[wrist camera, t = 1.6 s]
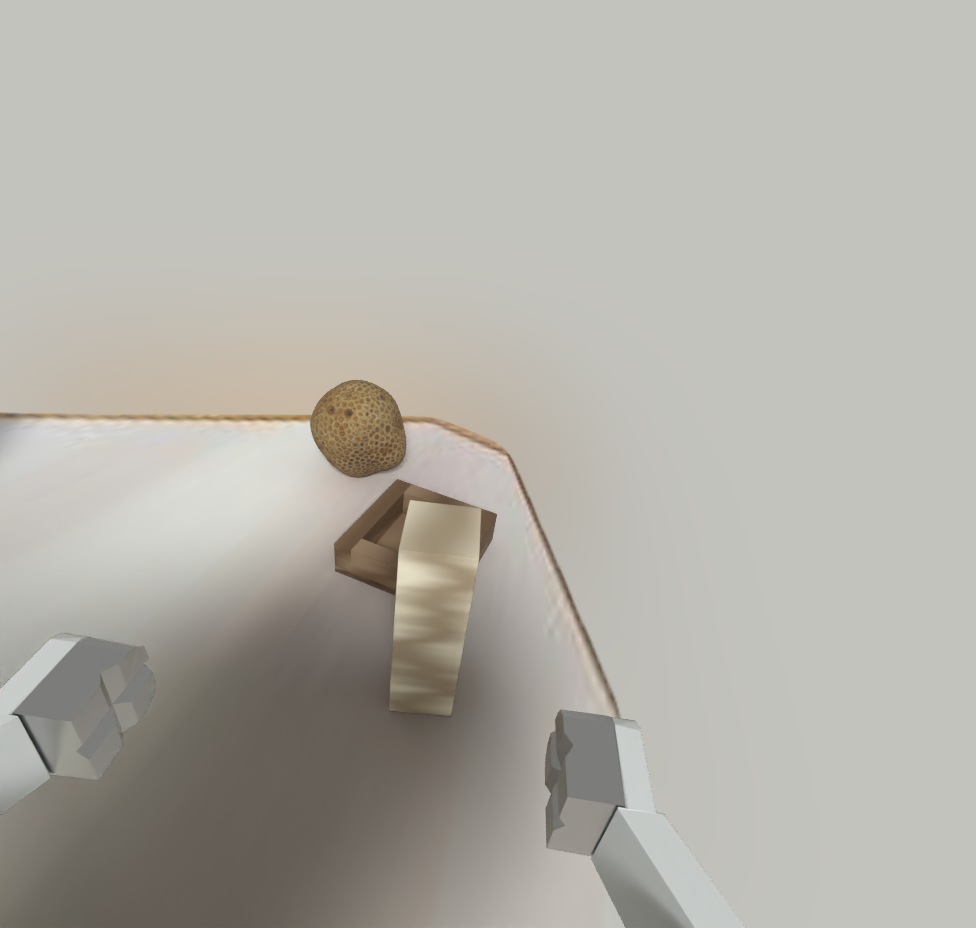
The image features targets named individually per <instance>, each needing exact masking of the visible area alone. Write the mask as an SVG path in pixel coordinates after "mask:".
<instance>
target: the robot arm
mask: <svg viewBox="0 0 976 928" xmlns="http://www.w3.org/2000/svg"><path fill="white" fill-rule="evenodd" d="M147 659H148V655H147V653H146V650H145V647H144V646H139V645H133V644H127V643H120V642H114V641H108V640H102V639H96V638H91V637H86V636H79V635H72V634H66V633H60V634H58V635H56V636H55V637H53V638H51V639H49V640H48V641H47V642H46V643H45V644H44V645H43V646H42V647H41V648H40V649H39V650H38V651H37V652H36V653H35V654H34V655H33V656H32V657H31V658H30V659H29V660H28V661H27V662H26V663H25V664H24V666H23V667H22V668H21V669H20V670H19V671H18V672H17V673H16V674H15V675H14V676H13V677H12V678H11V679H10V680H9V681H8V682H7V683H6V684H5V685H4V686H3V687H2V688H1V689H0V815H1V814H2V813H4V812H5V811H7V810H8V809H9V808H11V807H12V806H13V805H15V804H16V803H17V802H19V801H20V800H22V799H23V798H24V797H26V796H27V795H28V794H30V793H31V792H32V791H34V790H35V789H37V788H38V787H39V786H41V785H42V784H43V783H45V782H46V781H47V780H49V779H50V778H51V775H58V776H67V777H75V778H83V779H91V780H99V779H100V778H101V776H102V775H103V773H104V772H105V770H106V769H107V767H108V766H109V765H110V763H111V762H112V760H113V759H114V757H115V756H116V754H117V753H118V752H119V750H120V749H121V747H122V746H123V732H124V731H126V730H127V729H129V728H130V727H132V726H134V725H135V724H137V723H138V722H139V721H140V720H141V718H142V716H143V715H144V713H145V712H146V710H147V709H148V707H149V705H150V702H151V699H152V697H153V694H154V691H155V678H154V675H153V672H152V671H151V670H149V669H148V668H147V667H146V666H145V665H144V663H145V661H146V660H147ZM555 727H556V731H554V732H552V733H551V734H550V737H549V741H548V744H547V751H546V758H545V785H546V786H547V788H548V790H549V791H550V793H551V795H550V798H549V801H548V804H547V806H546V847H547V848H548V849H554V850H559V851H565V852H570V853H576V854H581V855H587V856H592V858H591V860H592V862H593V864H594V866H595V868H596V870H597V872H598V874H599V876H600V878H601V880H602V882H603V884H604V886H605V888H606V890H607V892H608V894H609V896H610V898H611V900H612V902H613V904H614V906H615V908H616V910H617V912H618V914H619V916H620V918H621V920H622V922H623V924H624V926H625V927H626V928H746V927H745V926H744V924H743V923H742V922H741V920H740V919H739V918H738V916H737V915H736V913H735V912H734V910H733V909H732V908H731V906H730V905H729V903H728V902H727V901H726V899H725V898H724V897H723V895H722V894H721V892H720V891H719V890H718V888H717V887H716V885H715V884H714V883H713V881H712V880H711V879H710V877H709V876H708V874H707V873H706V871H705V870H704V869H703V867H702V866H701V864H700V863H699V862H698V860H697V859H696V858H695V856H694V855H693V853H692V852H691V850H690V849H689V848H688V847H687V845H686V843H685V842H684V841H683V839H682V838H681V837H680V835H679V834H678V832H677V831H676V830H675V828H674V827H673V825H672V824H671V823H670V821H669V820H668V818H667V817H666V816H665V814H662V813H657V812H656V807H655V802H654V797H653V792H652V786H651V781H650V776H649V770H648V765H647V760H646V755H645V750H644V744H643V739H642V734H641V728H640V726H639V724H638V723H637V722H636V721H634V720H628V719H621V718H613V717H609V716H605V715H597V714H590V713H582V712H575V711H568V710H560V711H559V712H558V714H557V716H556V719H555Z"/></svg>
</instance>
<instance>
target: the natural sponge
mask: <svg viewBox="0 0 976 928" xmlns="http://www.w3.org/2000/svg"><path fill="white" fill-rule="evenodd" d="M310 426H311V432H312V435H313V438H314V441H315V443H316V445H317V446H318V448H319V449H320V451H321V452H322V453H323V454H324V456H325V457H326V458H327V460H328V461H329V462H330V463H331V464H332V465H333V466H334V467H335V468H337V469H338V470H340V471H341V472H343V473H344V474H346V475H349V476H352V477H364V476H369V475H371V474H373V473H375V472H378V471H383V470H387V469H391V468H393V467H396V466H397V465H398V464H400V462H401V461H402V460H403V458H404V455H405V451H406V436H405V431H404V426H403V421H402V418H401V414H400V411H399V409H398V406H397V404H396V402H395V400H394V399H393V398H392V396H391V395H390V394H389V393H388V392H386V391H385V390H384V389H382V388H380V387H379V386H377V385H375V384H373V383H370V382H367V381H363V380H351V381H347V382H344V383H341V384H340V385H338V386H337V387H335V388H333V389H331V390H330V391H329V392H327V393H326V394H325V395H324V396H323V397H322V398H321V399H320V400H319V402H318V403H317V405H316V407H315V409H314V411H313V414H312V417H311V420H310Z"/></svg>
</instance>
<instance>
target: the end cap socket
mask: <svg viewBox="0 0 976 928" xmlns="http://www.w3.org/2000/svg"><path fill="white" fill-rule="evenodd" d="M410 500H413V501H422V502H430V503H439V504H447V505H455V506H464V507H472V508H478V507H475V506H472V505H469V504H467V503H464V502H461V501H458V500H455V499H452V498H449V497H447V496H444V495H441V494H438V493H435V492H432V491H429V490H427V489H424V488H421V487H418V486H415V485H412V484H410V483H407V482H404V481H401V480H398V479H397V480H396V481H395V482H394V483H393V484H392V485H391V486H390V487H389V488H388V489H387V490H386V491H385V492H384V493H383V494H382V495H381V496H380V497H379V498H378V499H377V500H376V501H375V502H374V504H373V505H372V506H371V507H370V508H369V509H368V510H367V511H366V512H365V513H364V514H363V515H362V516H361V517H360V518H359V519H358V520H357V521H356V522H355V523H354V524H353V525H352V526H351V527H350V528H349V529H348V530H347V531H346V532H345V533H344V534H343V535H342V536H341V537H340V538H339V539H338V540H337V541H336V542H335V543H334V547H335V571H337V572H339V573H342V574H344V575H347V576H349V577H352V578H354V579H357V580H359V581H361V582H364V583H366V584H369V585H371V586H374V587H376V588H379V589H381V590H384V591H386V592H389V593H391V594H393V595H396V586H397V570H398V554H399V546H400V542H401V537H402V533H403V529H404V524H405V520H406V515H407V511H408V506H409V502H410ZM480 509H481V508H480ZM496 516H497V514H495V513H492V512H489V511H487V510H484V509H481V525H480V549H479V561H480V559H481V558H482V556H483V554H484V552H485V551H486V549H487V547H488V546H489V544H490V542H491V540H492V538H493V532H494V527H495V522H496ZM478 563H479V562H478Z"/></svg>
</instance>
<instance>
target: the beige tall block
mask: <svg viewBox="0 0 976 928" xmlns="http://www.w3.org/2000/svg"><path fill="white" fill-rule="evenodd" d="M480 525H481V509H480V508H472V507H464V506H455V505H447V504H439V503H430V502H422V501H413V500H410V502H409V506H408V511H407V515H406V520H405V524H404V529H403V533H402V537H401V542H400V546H399V554H398V570H397V586H396V602H395V618H394V634H393V650H392V666H391V682H390V698H389V711H399V712H410V713H420V714H431V715H442V716H451V713H452V708H453V702H454V697H455V691H456V685H457V680H458V674H459V669H460V663H461V657H462V652H463V646H464V641H465V635H466V629H467V624H468V618H469V613H470V607H471V601H472V596H473V590H474V585H475V579H476V573H477V568H478V562H479V549H480Z"/></svg>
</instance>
